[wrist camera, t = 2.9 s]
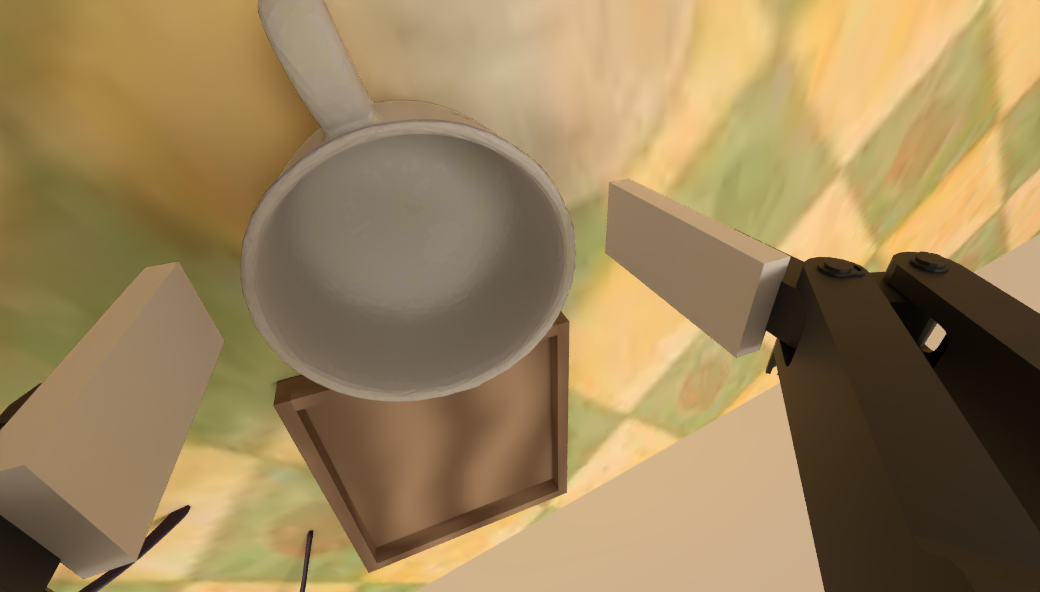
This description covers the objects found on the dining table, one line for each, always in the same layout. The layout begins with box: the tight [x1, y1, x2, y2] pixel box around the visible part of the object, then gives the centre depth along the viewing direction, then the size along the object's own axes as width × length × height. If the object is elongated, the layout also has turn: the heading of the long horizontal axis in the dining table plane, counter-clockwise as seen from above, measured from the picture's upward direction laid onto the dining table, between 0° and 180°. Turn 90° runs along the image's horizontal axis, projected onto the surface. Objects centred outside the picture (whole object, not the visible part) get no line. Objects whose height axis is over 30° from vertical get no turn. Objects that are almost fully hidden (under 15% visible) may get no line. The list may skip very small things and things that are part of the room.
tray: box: [273, 311, 569, 573], centre depth 29 cm, size 17×19×2 cm
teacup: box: [241, 0, 576, 402], centre depth 16 cm, size 14×11×8 cm
